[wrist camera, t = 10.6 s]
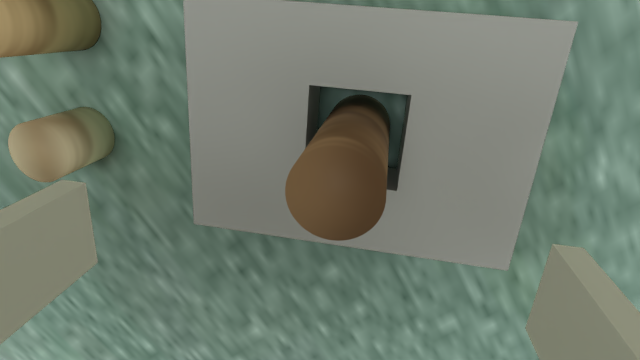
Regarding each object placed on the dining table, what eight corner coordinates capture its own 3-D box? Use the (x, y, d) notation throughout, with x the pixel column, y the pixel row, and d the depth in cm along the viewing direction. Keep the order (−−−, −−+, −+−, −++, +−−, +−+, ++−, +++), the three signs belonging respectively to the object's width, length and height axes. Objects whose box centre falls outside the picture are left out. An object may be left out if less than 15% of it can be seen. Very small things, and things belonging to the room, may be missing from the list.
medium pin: (52, 47, 29) (-65, 56, 22) (42, -16, 27) (-88, -29, 20) (104, 52, 28) (2, 63, 21) (97, -12, 27) (-15, -24, 20)
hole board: (217, 199, 31) (193, 223, 27) (213, -3, 26) (183, -7, 22) (493, 238, 28) (507, 270, 25) (549, 21, 23) (578, 21, 20)
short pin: (70, 155, 32) (15, 178, 27) (61, 104, 30) (2, 118, 26) (117, 161, 31) (70, 185, 27) (111, 109, 30) (59, 125, 25)
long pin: (327, 150, 28) (283, 233, 17) (331, 91, 27) (287, 140, 16) (385, 157, 28) (379, 247, 17) (393, 97, 26) (392, 153, 15)
